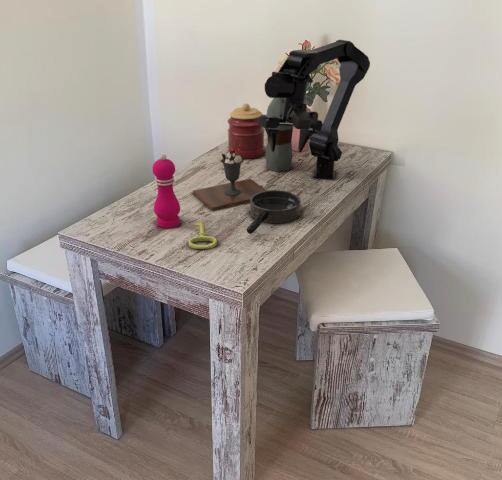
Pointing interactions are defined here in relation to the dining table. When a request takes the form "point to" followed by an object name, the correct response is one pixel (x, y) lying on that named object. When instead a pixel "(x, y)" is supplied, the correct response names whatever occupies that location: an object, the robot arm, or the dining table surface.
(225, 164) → the sundae
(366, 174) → the dining table surface
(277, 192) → the skillet
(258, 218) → the skillet handle
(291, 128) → the bottle
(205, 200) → the walnut board
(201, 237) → the key
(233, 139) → the kitchen canister
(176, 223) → the pepper mill
